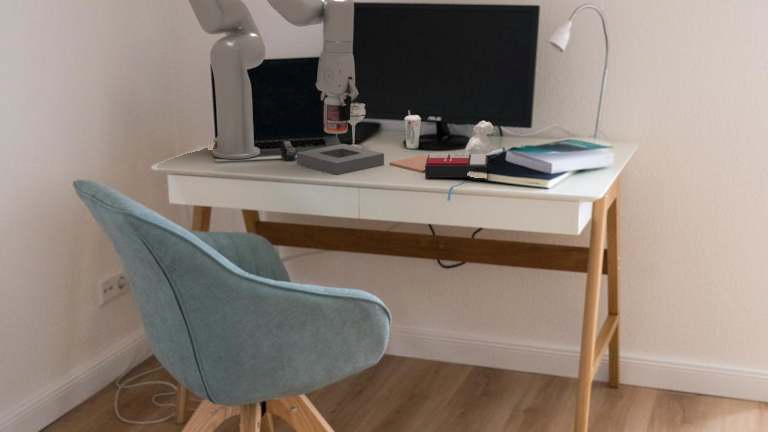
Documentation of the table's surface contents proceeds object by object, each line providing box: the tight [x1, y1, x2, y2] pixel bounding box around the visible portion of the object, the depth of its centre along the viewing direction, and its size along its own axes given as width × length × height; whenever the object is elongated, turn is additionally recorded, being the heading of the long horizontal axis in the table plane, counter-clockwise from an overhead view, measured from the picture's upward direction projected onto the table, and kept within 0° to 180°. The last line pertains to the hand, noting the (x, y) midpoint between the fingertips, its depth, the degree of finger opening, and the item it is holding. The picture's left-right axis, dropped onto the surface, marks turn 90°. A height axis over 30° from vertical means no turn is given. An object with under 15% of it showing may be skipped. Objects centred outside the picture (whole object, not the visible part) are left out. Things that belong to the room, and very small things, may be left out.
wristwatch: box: [280, 140, 297, 161], centre depth 256 cm, size 3×5×5 cm
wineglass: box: [348, 102, 366, 148], centre depth 268 cm, size 7×7×12 cm
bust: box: [464, 120, 494, 155], centre depth 255 cm, size 12×8×11 cm
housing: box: [296, 143, 385, 176], centre depth 250 cm, size 16×16×3 cm
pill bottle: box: [323, 91, 349, 135], centre depth 246 cm, size 6×6×11 cm
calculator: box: [424, 152, 489, 181], centre depth 239 cm, size 11×4×15 cm
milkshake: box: [404, 110, 422, 149], centre depth 268 cm, size 4×5×10 cm
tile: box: [389, 154, 428, 174], centre depth 249 cm, size 12×12×1 cm
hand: (335, 117), depth 247 cm, fingers closed on pill bottle, 6 cm apart
